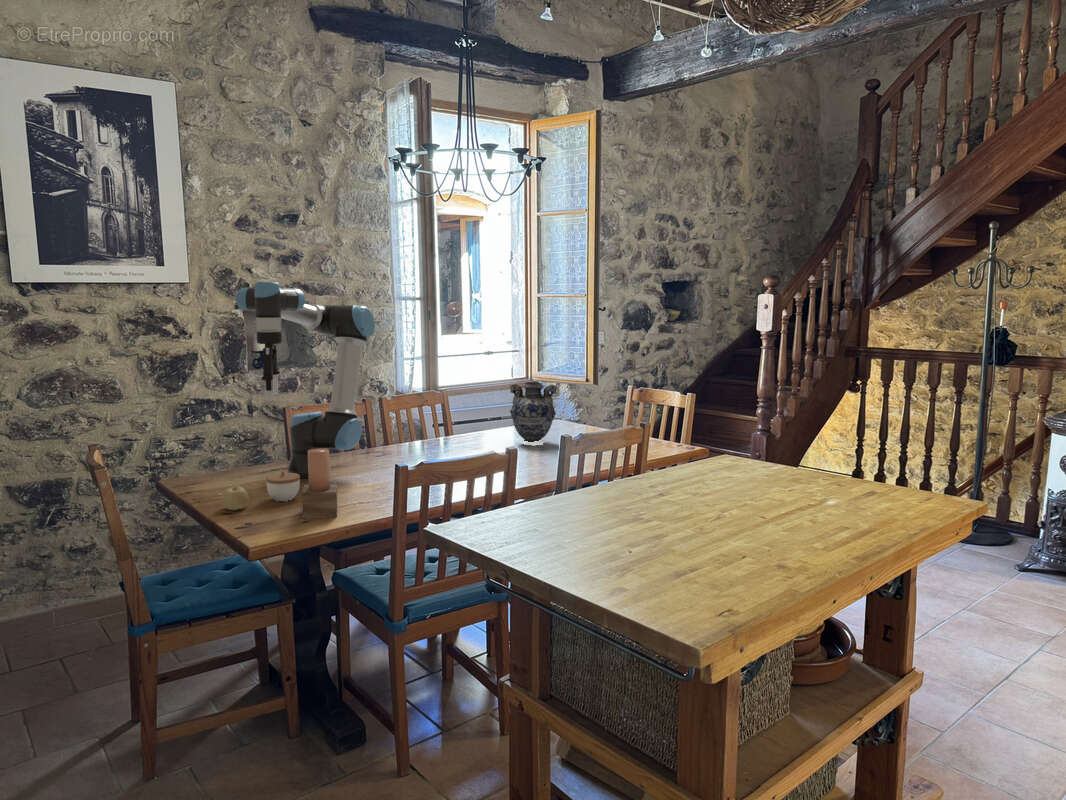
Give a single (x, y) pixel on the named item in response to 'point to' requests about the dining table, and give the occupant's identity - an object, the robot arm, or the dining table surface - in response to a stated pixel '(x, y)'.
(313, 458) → the dome-topped peach cylinder
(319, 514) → the walnut crate
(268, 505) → the dining table surface
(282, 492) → the lidded jar
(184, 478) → the dining table surface
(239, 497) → the apple
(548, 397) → the decorative vase
